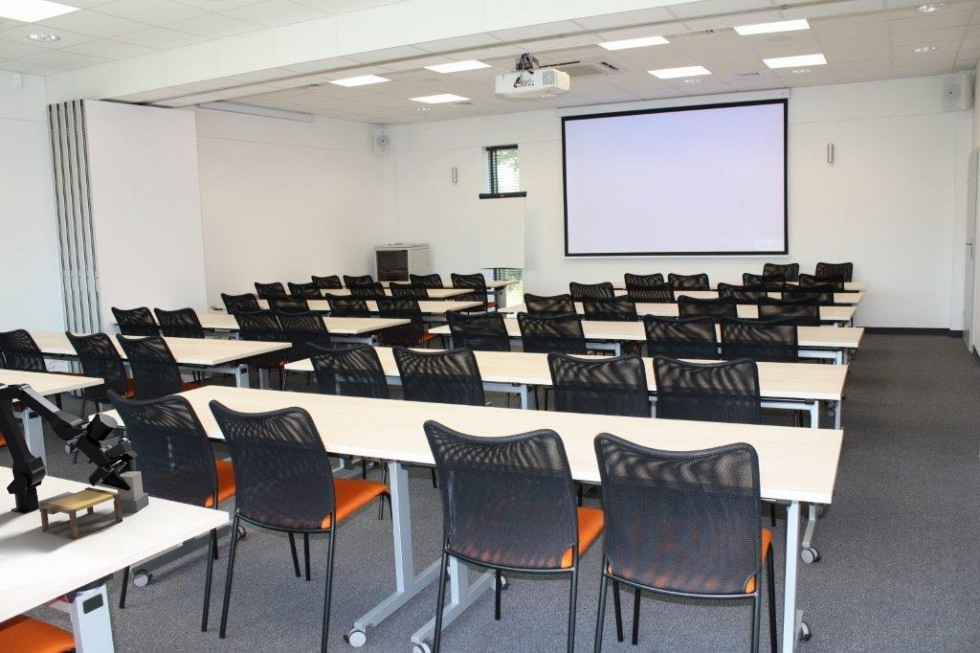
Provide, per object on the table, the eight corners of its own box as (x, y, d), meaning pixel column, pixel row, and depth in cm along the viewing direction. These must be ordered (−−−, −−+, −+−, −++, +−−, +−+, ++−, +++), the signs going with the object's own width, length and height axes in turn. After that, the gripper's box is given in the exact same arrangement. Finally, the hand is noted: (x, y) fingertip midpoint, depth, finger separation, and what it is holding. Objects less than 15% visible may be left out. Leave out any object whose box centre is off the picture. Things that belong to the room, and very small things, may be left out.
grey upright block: (118, 499, 244) (116, 476, 243) (127, 494, 249) (125, 471, 248) (134, 499, 243) (132, 476, 242) (143, 493, 248) (141, 471, 247)
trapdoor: (34, 513, 233) (32, 499, 232) (73, 500, 243) (72, 486, 243) (75, 523, 224) (74, 508, 223) (114, 508, 234) (113, 494, 234)
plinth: (114, 512, 243) (113, 500, 243) (126, 504, 250) (125, 492, 250) (137, 512, 243) (136, 500, 242) (149, 503, 250) (147, 492, 249)
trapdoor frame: (42, 531, 229) (39, 503, 228) (91, 514, 242) (88, 487, 241) (74, 539, 223) (71, 510, 222) (122, 521, 236) (120, 493, 235)
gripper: (94, 440, 235) (135, 478, 235) (128, 424, 253) (166, 458, 253) (70, 467, 236) (111, 504, 237) (106, 449, 255) (143, 483, 255)
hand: (134, 486), depth 245 cm, fingers closed on grey upright block, 5 cm apart
